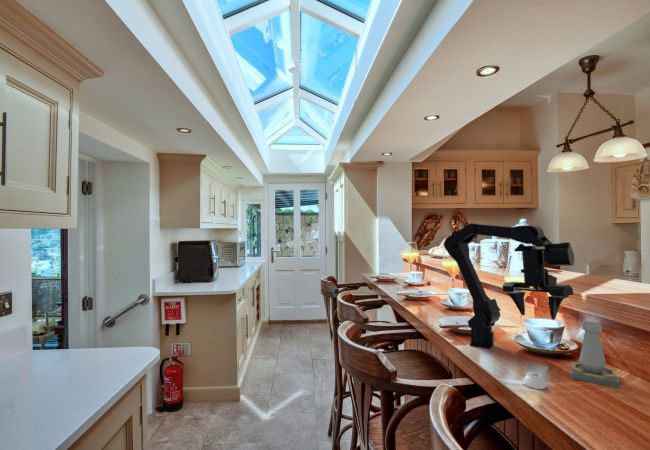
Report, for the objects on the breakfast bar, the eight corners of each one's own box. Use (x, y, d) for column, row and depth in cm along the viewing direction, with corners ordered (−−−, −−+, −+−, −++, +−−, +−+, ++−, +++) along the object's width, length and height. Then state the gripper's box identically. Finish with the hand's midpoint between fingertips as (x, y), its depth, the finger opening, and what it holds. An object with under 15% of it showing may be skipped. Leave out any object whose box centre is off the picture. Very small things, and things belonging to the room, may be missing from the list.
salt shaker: (611, 374, 94) (611, 325, 94) (592, 375, 93) (592, 325, 93) (592, 366, 100) (592, 319, 100) (573, 367, 99) (573, 320, 99)
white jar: (537, 381, 93) (518, 382, 93) (537, 370, 93) (518, 370, 93) (550, 390, 88) (531, 390, 88) (550, 378, 88) (531, 378, 88)
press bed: (571, 378, 95) (571, 370, 95) (570, 366, 103) (570, 359, 103) (620, 388, 89) (620, 379, 89) (615, 375, 98) (615, 367, 98)
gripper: (580, 264, 106) (585, 318, 105) (520, 264, 122) (524, 310, 121) (560, 266, 101) (565, 323, 100) (499, 265, 117) (503, 314, 116)
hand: (537, 317), depth 109 cm, fingers open, 9 cm apart
